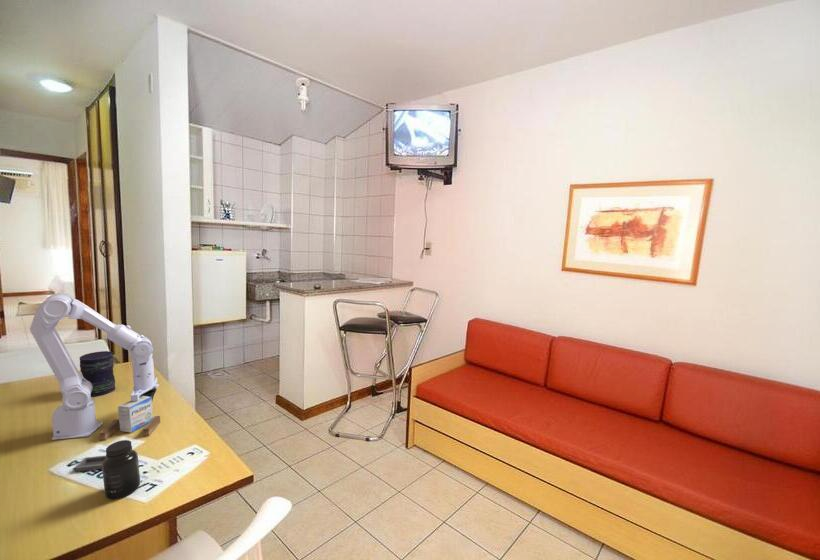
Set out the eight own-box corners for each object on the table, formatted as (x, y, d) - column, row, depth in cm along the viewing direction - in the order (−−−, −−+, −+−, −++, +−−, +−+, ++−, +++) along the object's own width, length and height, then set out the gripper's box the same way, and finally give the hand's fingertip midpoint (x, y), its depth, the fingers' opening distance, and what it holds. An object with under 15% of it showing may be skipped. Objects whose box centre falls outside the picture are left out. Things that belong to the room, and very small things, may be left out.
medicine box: (131, 433, 111) (129, 407, 110) (119, 431, 112) (117, 405, 111) (153, 420, 119) (152, 396, 118) (142, 419, 120) (140, 394, 118)
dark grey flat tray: (74, 472, 93) (74, 468, 93) (85, 461, 97) (85, 457, 97) (114, 467, 95) (114, 463, 95) (123, 457, 99) (123, 453, 99)
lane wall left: (100, 440, 107) (99, 433, 106) (114, 426, 114) (114, 419, 114) (105, 440, 107) (105, 432, 107) (120, 426, 115) (119, 419, 114)
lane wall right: (143, 436, 110) (143, 429, 109) (155, 423, 117) (154, 416, 117) (149, 436, 110) (148, 428, 110) (160, 422, 118) (160, 415, 117)
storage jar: (119, 390, 140) (117, 354, 138) (87, 399, 132) (84, 361, 130) (110, 384, 145) (107, 349, 143) (78, 392, 137) (75, 356, 135)
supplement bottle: (118, 481, 90) (114, 437, 89) (146, 480, 91) (143, 436, 89) (97, 501, 83) (92, 454, 82) (127, 500, 84) (124, 453, 82)
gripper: (147, 381, 114) (150, 420, 116) (165, 364, 128) (168, 400, 129) (121, 382, 112) (125, 422, 114) (143, 366, 126) (146, 402, 128)
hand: (146, 411), depth 121 cm, fingers closed
